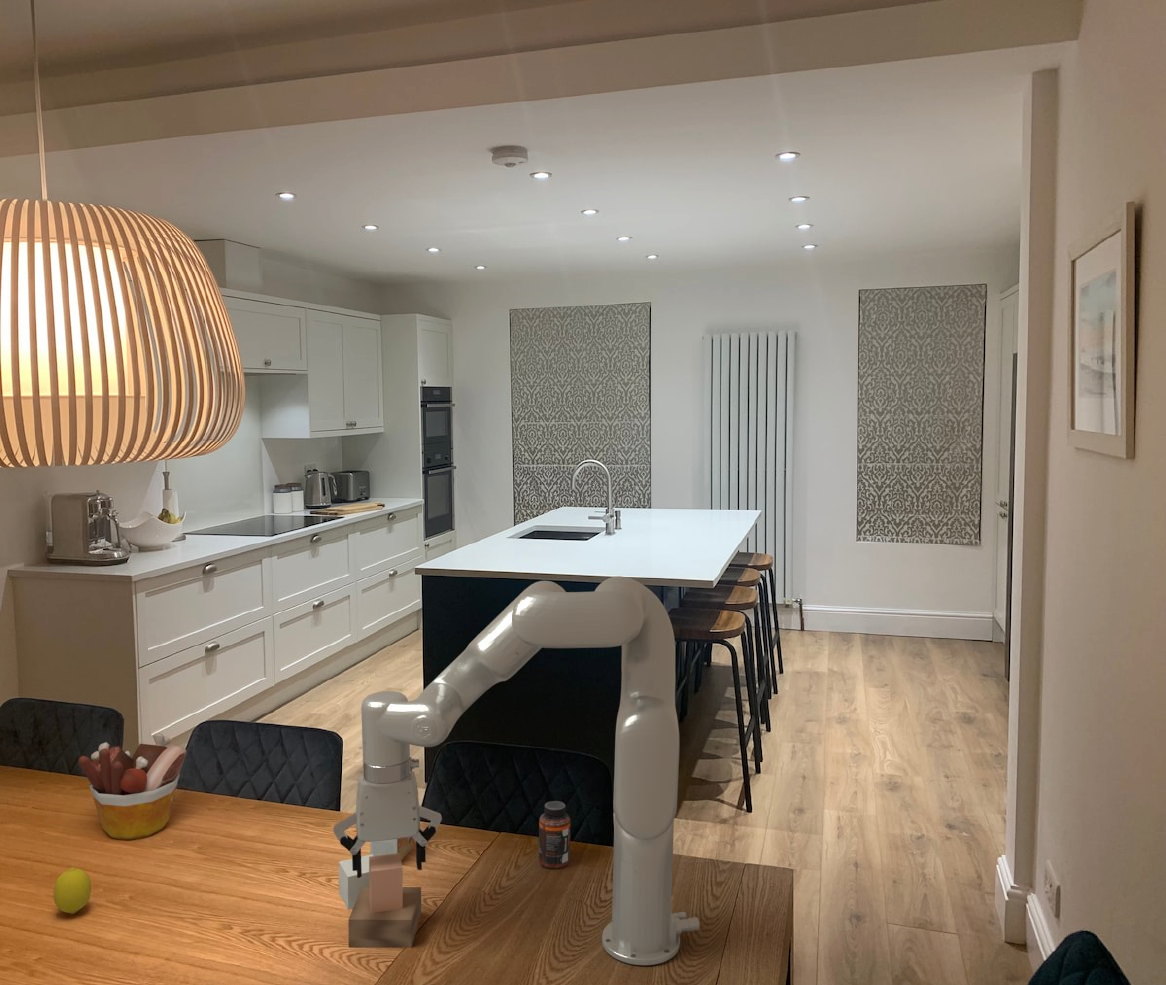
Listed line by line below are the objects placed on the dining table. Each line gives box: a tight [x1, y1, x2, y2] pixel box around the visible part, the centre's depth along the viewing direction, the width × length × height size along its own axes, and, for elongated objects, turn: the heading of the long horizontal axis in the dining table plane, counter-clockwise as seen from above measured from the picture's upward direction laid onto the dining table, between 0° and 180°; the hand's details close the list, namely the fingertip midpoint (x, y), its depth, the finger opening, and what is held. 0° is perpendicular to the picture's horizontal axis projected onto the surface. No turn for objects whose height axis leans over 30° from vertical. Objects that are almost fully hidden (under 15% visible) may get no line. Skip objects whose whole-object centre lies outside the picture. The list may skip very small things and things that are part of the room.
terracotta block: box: [369, 853, 404, 913], centre depth 149 cm, size 5×5×7 cm
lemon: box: [53, 867, 92, 915], centre depth 153 cm, size 6×6×8 cm
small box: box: [369, 837, 414, 862], centre depth 175 cm, size 8×6×10 cm
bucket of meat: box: [77, 732, 187, 841], centre depth 183 cm, size 20×16×20 cm
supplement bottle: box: [538, 800, 571, 869], centre depth 173 cm, size 6×6×11 cm
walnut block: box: [347, 886, 422, 949], centre depth 150 cm, size 10×10×5 cm
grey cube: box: [338, 853, 373, 911], centre depth 160 cm, size 6×6×6 cm
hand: (389, 869), depth 149 cm, fingers open, 9 cm apart
